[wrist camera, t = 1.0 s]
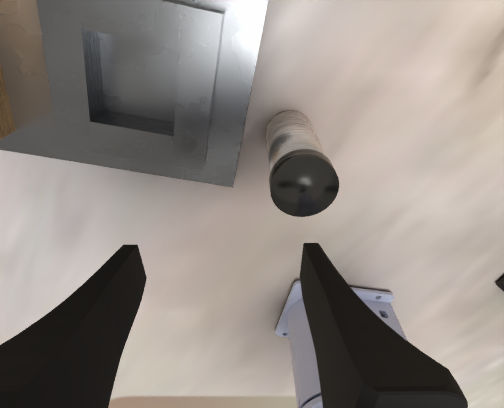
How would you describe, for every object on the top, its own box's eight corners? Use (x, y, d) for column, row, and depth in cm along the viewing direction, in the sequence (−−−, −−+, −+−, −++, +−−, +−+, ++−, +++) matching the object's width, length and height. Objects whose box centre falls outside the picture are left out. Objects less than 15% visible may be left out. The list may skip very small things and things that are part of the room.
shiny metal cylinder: (319, 114, 20) (349, 164, 14) (305, 159, 22) (326, 221, 16) (270, 104, 20) (279, 152, 14) (259, 151, 21) (264, 211, 16)
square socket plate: (271, -27, 16) (283, -35, 11) (233, 178, 22) (229, 234, 17) (-183, -138, 14) (-447, -217, 8) (-77, 127, 20) (-189, 174, 15)
